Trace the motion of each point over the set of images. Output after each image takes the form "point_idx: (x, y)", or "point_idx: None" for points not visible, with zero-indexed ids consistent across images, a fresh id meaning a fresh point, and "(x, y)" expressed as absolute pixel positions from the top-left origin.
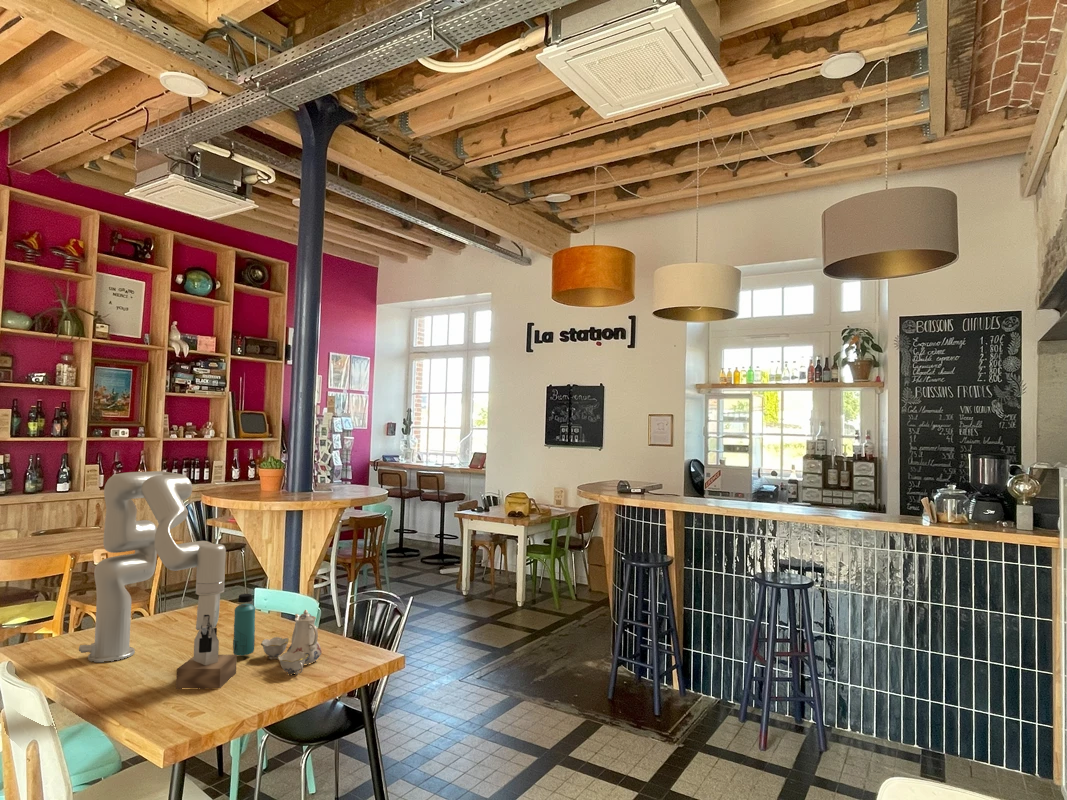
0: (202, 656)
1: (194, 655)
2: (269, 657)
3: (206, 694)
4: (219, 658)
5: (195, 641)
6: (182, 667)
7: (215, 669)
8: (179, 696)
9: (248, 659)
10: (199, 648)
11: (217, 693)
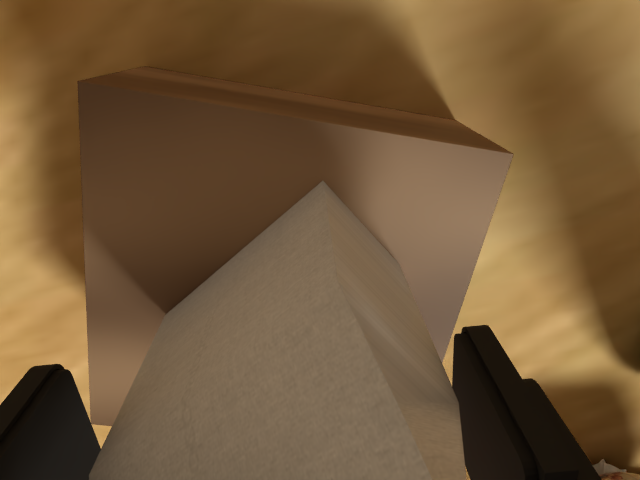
0: (190, 319)
1: (310, 209)
2: (601, 465)
3: (49, 287)
4: None
5: (311, 293)
6: (123, 128)
7: (92, 391)
8: (5, 135)
9: (623, 377)
10: (6, 403)
11: (67, 338)
